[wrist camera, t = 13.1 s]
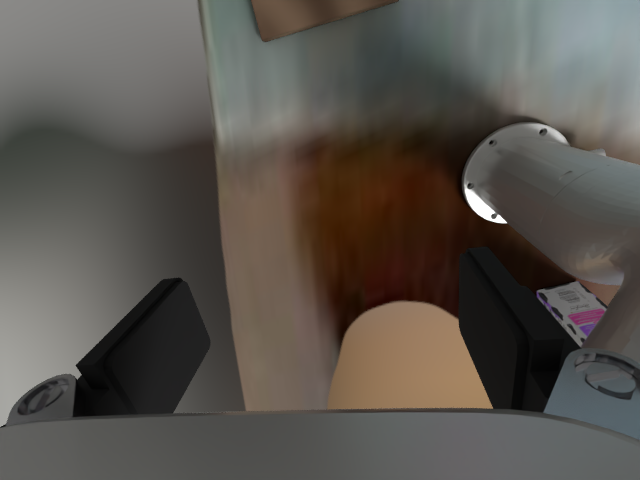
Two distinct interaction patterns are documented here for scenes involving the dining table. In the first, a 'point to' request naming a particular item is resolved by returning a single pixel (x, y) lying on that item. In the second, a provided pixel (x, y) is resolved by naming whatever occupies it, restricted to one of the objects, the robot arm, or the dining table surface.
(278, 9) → the can stand
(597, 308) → the candy box
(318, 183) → the dining table surface
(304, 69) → the dining table surface
